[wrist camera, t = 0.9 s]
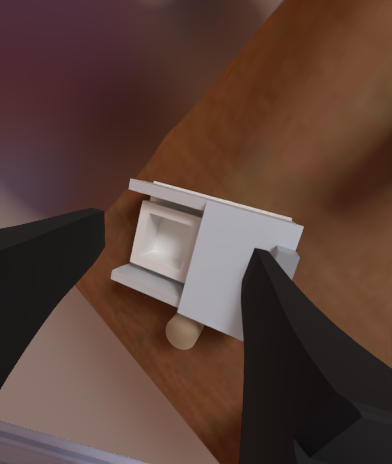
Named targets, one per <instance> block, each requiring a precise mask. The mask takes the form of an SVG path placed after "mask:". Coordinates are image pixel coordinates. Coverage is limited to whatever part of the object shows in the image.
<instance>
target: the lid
mask: <svg viewBox="0 0 392 464" xmlns="http://www.w3.org/2000/svg"><path fill="white" fill-rule="evenodd" d="M303 228H304V227H303V226H301V225H297V224H293V223H290V222H286V221H283V220H279V219H275V218H272V217H268V216H264V215H261V214H257V213H254V212H250V211H246V210H243V209H239V208H236V207H232V206H228V205H225V204H221V203H217V202H214V201H210V200H207V203H206V206H205V210H204V214H203V218H202V221H201V225H200V229H199V233H198V236H197V240H196V244H195V248H194V251H193V255H192V259H191V263H190V266H189V270H188V274H187V278H186V281H185V285H184V289H183V293H182V296H181V300H180V304H179V308H178V311H177V313H180V314H182V315H184V316H186V317H189V318H191V319H193V320H196V321H198V322H200V323H202V324H205V325H207V326H209V327H212V328H214V329H216V330H218V331H221V332H223V333H225V334H228V335H230V336H232V337H234V338H237V339H239V340H241V341H244V339H243V326H242V313H241V285H242V279H243V276H244V274H245V271H246V269H247V266H248V263H249V261H250V258H251V256H252V253H253V251H254V248H259V249H263V250H267V251H269V252H270V254H271V255H272V256H273V257H274V259H275V260H276V261H277V262H278V264H279V265H280V266H281V268H282V269H283V270H284V271H285V273H286V274H287V275H288V276H289V277H290V279H291V280H292V278H293V275H294V272H295V270H296V267H297V264H298V262H299V259H300V257H299V256H298V254H297V252H296V248H297V245H298V242H299V239H300V237H301V234H302V231H303Z"/></svg>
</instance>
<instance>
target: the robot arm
mask: <svg viewBox="0 0 392 464" xmlns="http://www.w3.org/2000/svg"><path fill="white" fill-rule="evenodd" d="M104 247H105V224H104V211H102V210H98V209H94V208H88V209H83V210H79V211H74V212H71V213H67V214H63V215H59V216H55V217H51V218H48V219H43V220H39V221H35V222H31V223H26V224H22V225H18V226H13V227H7V228H2V229H0V389H1V387H2V386H3V384H4V382H5V381H6V379H7V377H8V375H9V374H10V372H11V371H12V369H13V368H14V366H15V365H16V363H17V362H18V360H19V359H20V357H21V355H22V354H23V352H24V351H25V349H26V348H27V346H28V345H29V343H30V342H31V340H32V339H33V338H34V336H35V335H36V333H37V332H38V330H39V329H40V327H41V326H42V325H43V323H44V322H45V320H46V319H47V318H48V316H49V315H50V314H51V312H52V311H53V309H54V308H55V307H56V306H57V304H58V303H59V302H60V301H61V299H62V298H63V297H64V296H65V295H66V294H67V293H68V291H70V289H71V288H72V287H73V286H74V285H75V284H76V283H77V282H78V281H79V280H80V278H81V277H82V276H83V275H84V274H85V273H86V272H87V271H88V269H89V268H90V267H91V266H92V265H93V264H94V262H95V261H96V260H97V258H98V257H99V255H100V254H101V252H102V250H103V249H104ZM241 313H242V326H243V339H244V387H243V410H242V427H241V443H240V456H239V464H392V369H391V368H390V367H389V366H387V365H386V364H385V363H383V362H382V361H380V360H379V359H378V358H376V357H375V356H373V355H372V354H371V353H370V352H368V351H367V350H366V349H364V348H363V347H362V346H360V345H359V344H358V343H357V342H355V341H354V340H353V339H352V338H351V337H349V336H348V335H347V334H346V333H345V332H343V331H342V330H341V329H340V328H339V327H337V326H336V325H335V324H334V323H333V322H332V321H331V320H329V319H328V318H327V317H326V316H325V315H324V314H323V313H322V312H321V311H320V310H319V309H318V308H317V307H316V306H315V305H314V304H313V303H312V302H311V301H310V300H309V299H308V298H307V297H306V296H305V295H304V294H303V292H302V291H301V290H300V289H299V288H298V287H297V286H296V285H295V283H294V282H293V281H292V280H291V279H290V277H289V276H288V275H287V274H286V273H285V271H284V270H283V269H282V268H281V266H280V265H279V264H278V262H277V261H276V260H275V259H274V257H273V256H272V255H271V254H270V252H269V251H267V250H263V249H259V248H254V251H253V253H252V256H251V258H250V261H249V263H248V266H247V269H246V271H245V274H244V276H243V279H242V285H241ZM0 464H149V463H145V462H141V461H139V460H135V459H132V458H128V457H124V456H121V455H118V454H114V453H111V452H107V451H104V450H100V449H96V448H93V447H90V446H86V445H83V444H79V443H76V442H72V441H69V440H65V439H62V438H58V437H55V436H51V435H48V434H45V433H41V432H38V431H34V430H31V429H27V428H24V427H20V426H16V425H13V424H10V423H6V422H3V421H0Z"/></svg>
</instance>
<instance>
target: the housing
mask: <svg viewBox="0 0 392 464" xmlns="http://www.w3.org/2000/svg"><path fill="white" fill-rule="evenodd" d="M129 189H130V190H134V191H137V192H141V193H144V194H147V195H151V198H150V201H146V200H143V202H142V206H141V211H140V216H139V220H138V225H137V230H136V235H135V239H134V244H133V249H132V254H131V258H130V262H131V263H129V264H126V265H124V266H121V267H119V268H116V269H114V270H112V275H111V279H112V280H114V281H117V282H119V283H121V284H124V285H126V286H128V287H131V288H133V289H135V290H138V291H140V292H142V293H145V294H147V295H149V296H152V297H154V298H156V299H159V300H161V301H163V302H166V303H168V304H170V305H172V306H175V307H177V308H179V304H180V300H181V296H182V293H183V289H184V285H185V281H186V278H187V274H188V270H189V266H190V263H191V259H192V255H193V251H194V248H195V244H196V240H197V236H198V233H199V229H200V225H201V221H202V218H203V214H204V210H205V206H206V203H207V200H210V201H214V202H217V203H221V204H225V205H228V206H232V207H236V208H239V209H243V210H246V211H250V212H254V213H257V214H261V215H264V216H268V217H272V218H275V219H279V220H283V221H286V222H290V223H293V224H295V223H294V222H292V218H289V217H286V216H282V215H278V214H274V213H271V212H267V211H263V210H260V209H256V208H252V207H249V206H245V205H241V204H238V203H234V202H230V201H226V200H223V199H219V198H215V197H212V196H208V195H204V194H201V193H197V192H193V191H190V190H186V189H182V188H178V187H175V186H171V185H167V184H164V183H160V182H156V181H154V183H150V182H145V181H140V180H136V179H130V184H129Z"/></svg>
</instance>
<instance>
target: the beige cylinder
mask: <svg viewBox="0 0 392 464" xmlns="http://www.w3.org/2000/svg"><path fill="white" fill-rule="evenodd" d="M204 326H205V324H202V323H200V322H198V321H196V320H193V319H191V318H189V317H186V316H184V315H182V314H180V313H176V314H175V315H174V316H173V317H172V319H171V320H170V321H169V322H168V323H167V326H166V336H167V338H168V340H169V342H170V343H171V344H172V345H173V346H174V347H176V348H178V349H182V350H186V349H189V348H191V347H193V346H194V344H195V342H196V341H197V339H198V337H199V335H200V333H201V331H202V330H203V328H204Z"/></svg>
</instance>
